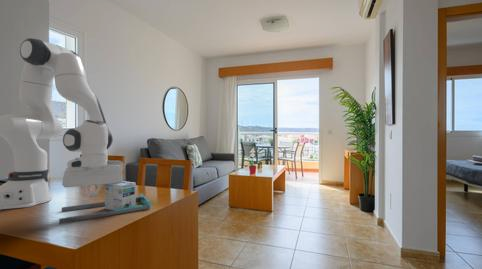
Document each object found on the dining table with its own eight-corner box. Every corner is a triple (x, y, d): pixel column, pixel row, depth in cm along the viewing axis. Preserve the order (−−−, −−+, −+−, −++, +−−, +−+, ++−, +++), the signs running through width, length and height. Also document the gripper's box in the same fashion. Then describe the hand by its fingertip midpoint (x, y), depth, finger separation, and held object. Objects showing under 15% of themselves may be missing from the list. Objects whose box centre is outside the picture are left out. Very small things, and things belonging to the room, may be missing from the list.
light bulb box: (136, 207, 100) (136, 182, 100) (122, 212, 94) (122, 185, 94) (118, 204, 104) (118, 179, 104) (103, 209, 98) (104, 182, 98)
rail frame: (59, 223, 82) (59, 215, 82) (61, 211, 95) (61, 203, 95) (150, 208, 99) (150, 201, 99) (142, 199, 112) (142, 193, 112)
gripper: (122, 159, 103) (121, 191, 103) (63, 161, 91) (62, 197, 92) (124, 160, 98) (124, 194, 98) (62, 163, 86) (61, 201, 86)
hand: (93, 196), depth 95 cm, fingers closed
